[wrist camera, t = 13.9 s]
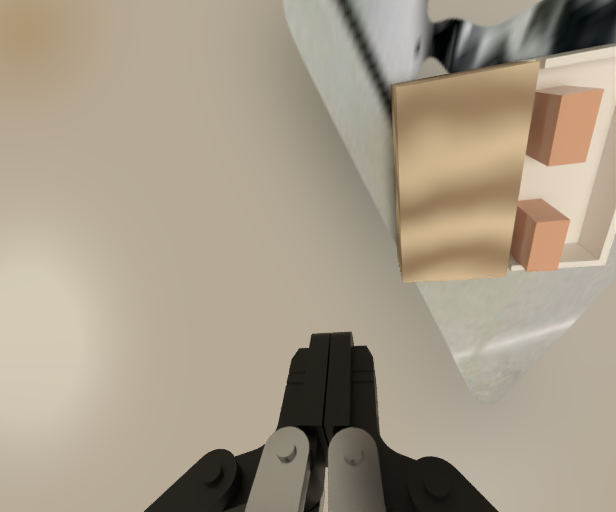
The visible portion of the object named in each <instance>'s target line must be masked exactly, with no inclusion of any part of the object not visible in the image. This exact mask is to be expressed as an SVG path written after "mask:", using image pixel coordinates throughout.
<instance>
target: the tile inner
mask: <svg viewBox="0 0 616 512" xmlns="http://www.w3.org/2000/svg"><path fill="white" fill-rule="evenodd" d="M603 92H604V89H602V88H590V87H579V86H567V85H563V86H557V87H551V88H545V89H539V90H536V91H535V97H534V104H533V110H532V116H531V122H530V129H529V135H528V141H527V148H526V154H525V155H527V156H529V157H531V158H533V159H535V160H536V161H538V162H540V163H542V164H544V165H546V166H548V167H550V166H558V165H566V164H575V163H583V162H586V158H587V154H588V151H589V147H590V143H591V139H592V135H593V131H594V127H595V123H596V119H597V115H598V111H599V107H600V103H601V99H602V95H603Z"/></svg>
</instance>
